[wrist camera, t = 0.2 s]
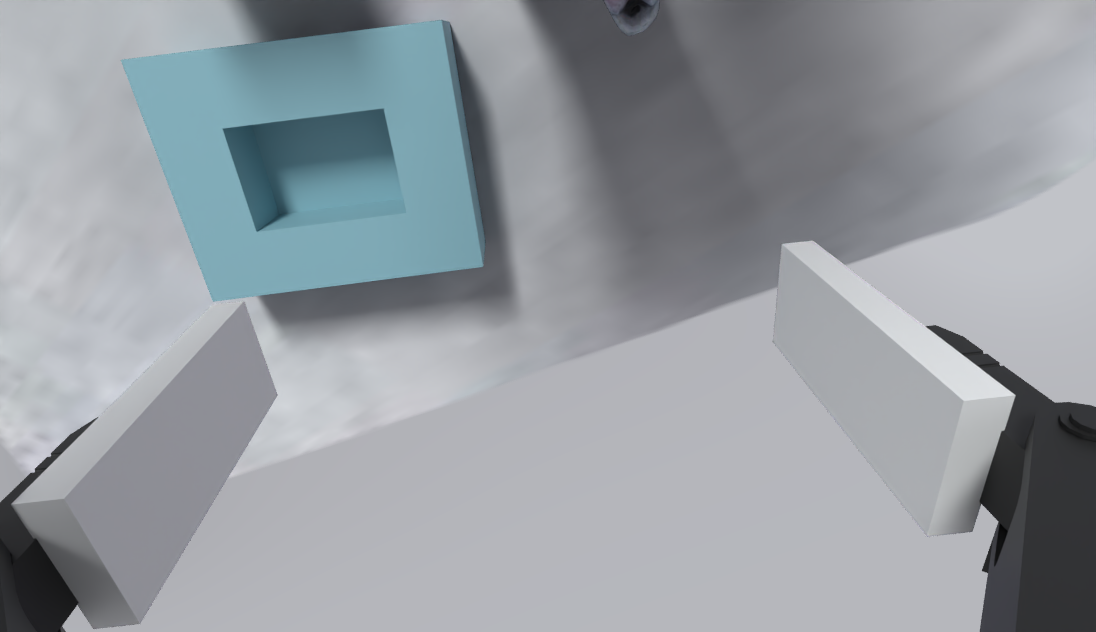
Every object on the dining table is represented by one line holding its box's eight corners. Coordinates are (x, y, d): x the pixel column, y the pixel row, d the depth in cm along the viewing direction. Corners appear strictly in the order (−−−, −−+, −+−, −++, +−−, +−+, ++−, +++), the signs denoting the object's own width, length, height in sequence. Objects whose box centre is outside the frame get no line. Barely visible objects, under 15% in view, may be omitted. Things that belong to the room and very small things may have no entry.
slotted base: (168, 56, 36) (120, 59, 32) (449, 22, 37) (441, 20, 32) (244, 273, 42) (213, 301, 38) (485, 242, 42) (483, 266, 38)
